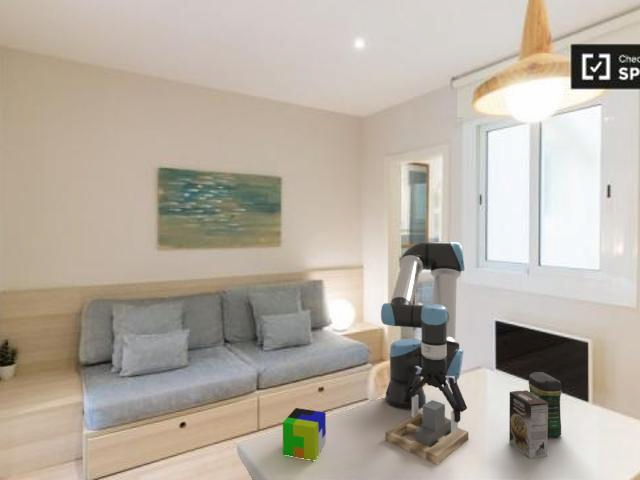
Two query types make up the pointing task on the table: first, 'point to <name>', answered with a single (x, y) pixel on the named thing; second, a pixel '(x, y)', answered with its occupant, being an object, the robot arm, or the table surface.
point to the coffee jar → (548, 399)
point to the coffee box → (528, 423)
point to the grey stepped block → (433, 423)
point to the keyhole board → (433, 454)
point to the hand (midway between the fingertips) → (434, 423)
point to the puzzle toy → (304, 433)
